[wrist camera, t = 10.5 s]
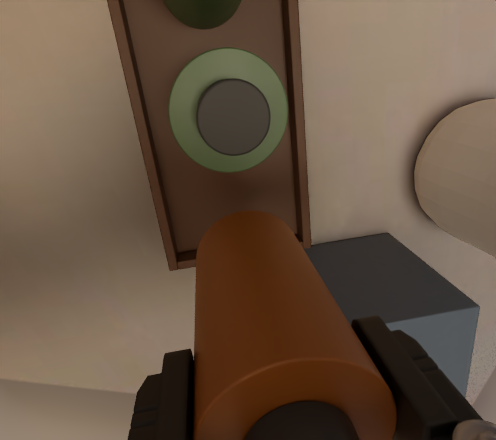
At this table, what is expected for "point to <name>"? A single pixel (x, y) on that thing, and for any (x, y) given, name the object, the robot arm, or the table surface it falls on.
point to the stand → (401, 297)
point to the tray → (165, 145)
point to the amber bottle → (277, 344)
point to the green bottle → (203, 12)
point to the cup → (461, 174)
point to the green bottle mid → (228, 109)
